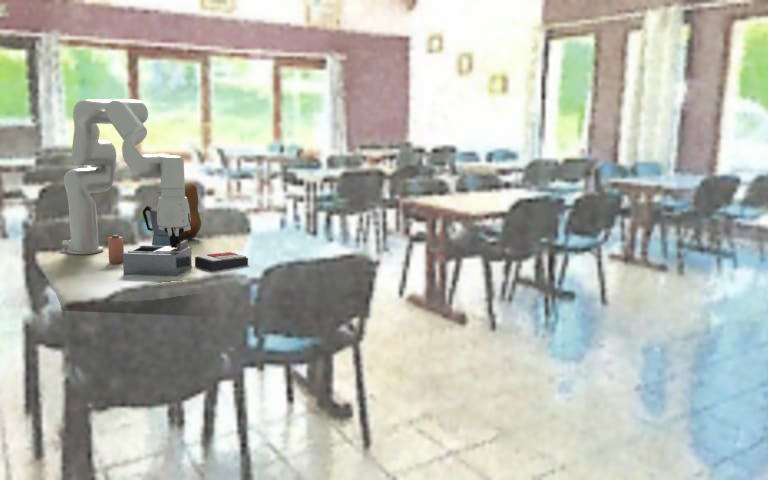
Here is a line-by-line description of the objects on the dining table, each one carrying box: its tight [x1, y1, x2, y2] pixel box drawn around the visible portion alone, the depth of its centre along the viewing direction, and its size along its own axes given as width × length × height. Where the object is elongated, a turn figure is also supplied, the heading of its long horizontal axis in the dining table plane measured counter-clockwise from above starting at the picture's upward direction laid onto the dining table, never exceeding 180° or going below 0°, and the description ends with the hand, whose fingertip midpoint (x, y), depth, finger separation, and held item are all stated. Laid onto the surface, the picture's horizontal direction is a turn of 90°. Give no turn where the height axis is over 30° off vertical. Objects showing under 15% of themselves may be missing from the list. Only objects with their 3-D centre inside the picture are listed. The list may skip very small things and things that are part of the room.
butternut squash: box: [174, 179, 202, 241], centre depth 281 cm, size 14×13×25 cm
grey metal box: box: [122, 244, 193, 277], centre depth 228 cm, size 18×14×7 cm
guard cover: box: [156, 240, 190, 253], centre depth 226 cm, size 8×8×3 cm
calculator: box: [194, 251, 249, 272], centre depth 237 cm, size 11×4×15 cm
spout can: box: [107, 234, 125, 265], centre depth 238 cm, size 5×6×10 cm
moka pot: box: [142, 205, 171, 246], centre depth 252 cm, size 10×15×20 cm, turn 78°
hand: (175, 247), depth 226 cm, fingers closed
